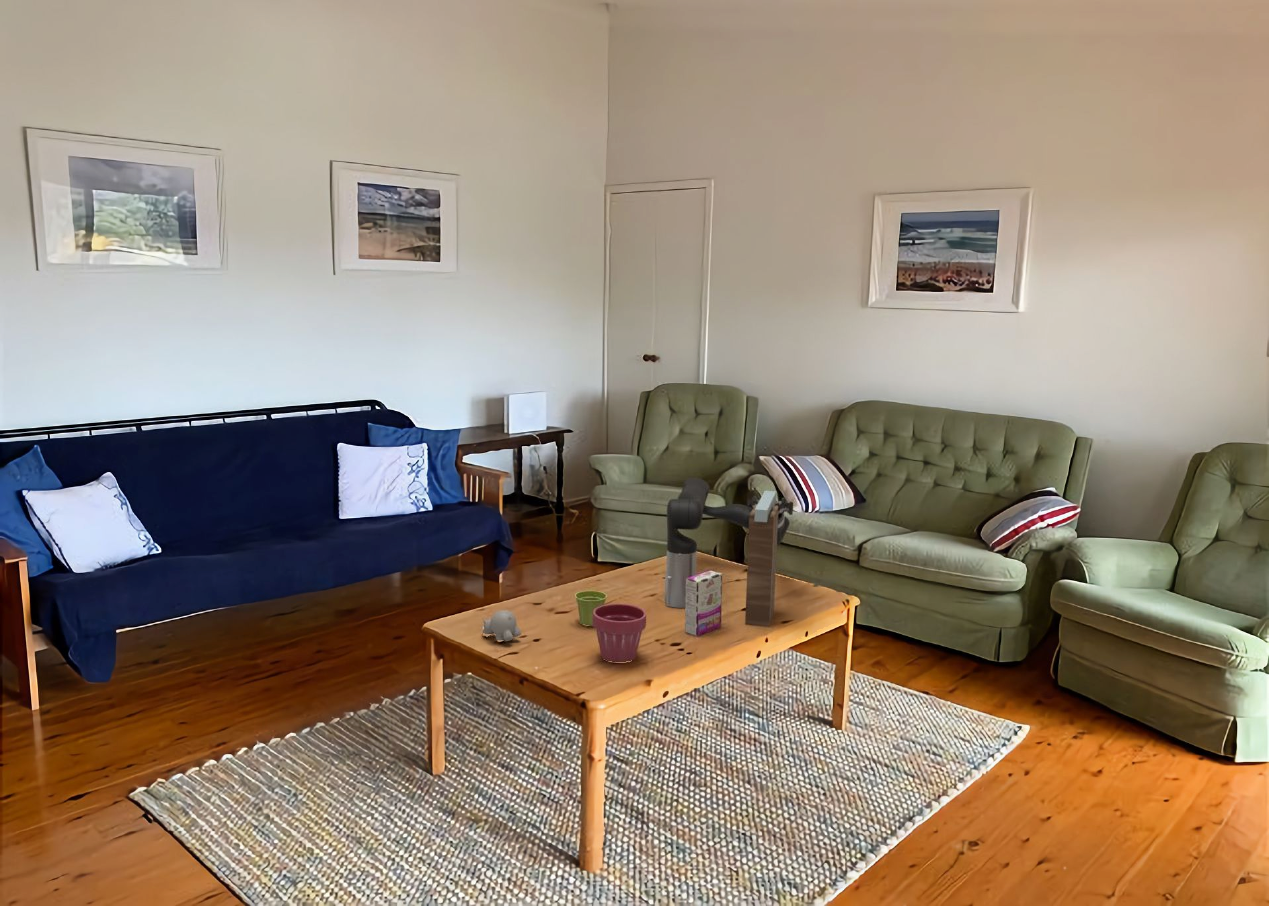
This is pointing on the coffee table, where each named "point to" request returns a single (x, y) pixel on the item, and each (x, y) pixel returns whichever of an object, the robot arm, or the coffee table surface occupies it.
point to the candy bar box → (703, 603)
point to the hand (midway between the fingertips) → (768, 499)
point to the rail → (765, 506)
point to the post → (761, 569)
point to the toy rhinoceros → (502, 625)
